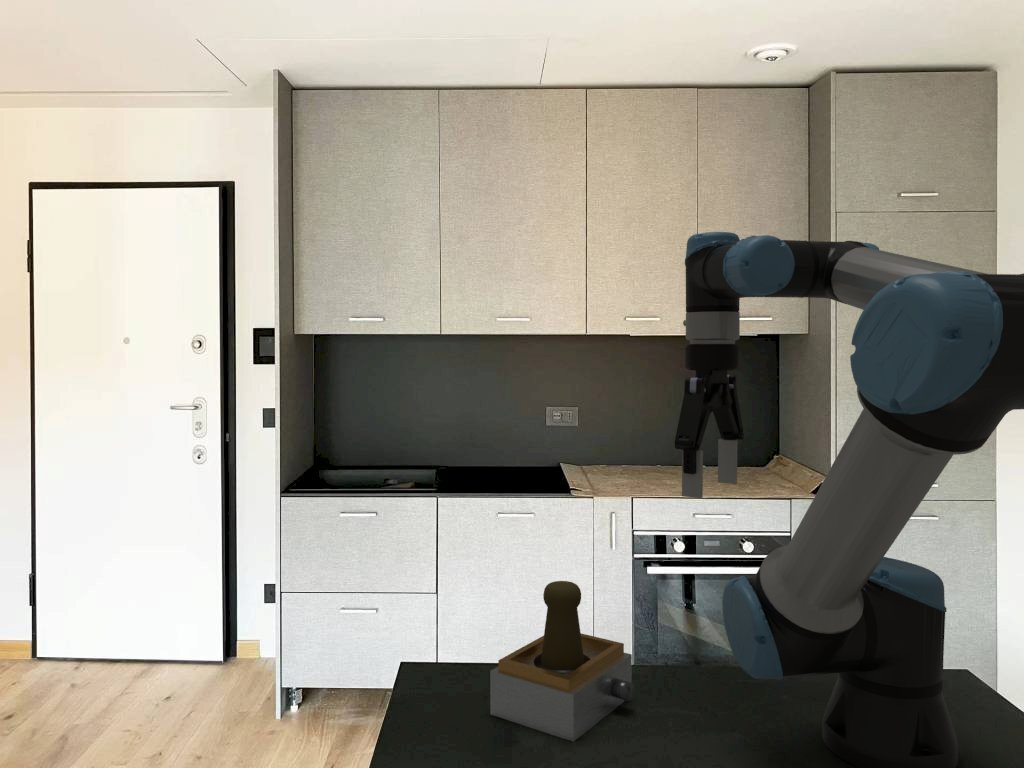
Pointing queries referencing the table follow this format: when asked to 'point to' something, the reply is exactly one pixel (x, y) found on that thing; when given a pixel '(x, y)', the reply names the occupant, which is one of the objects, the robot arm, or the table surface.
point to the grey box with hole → (562, 688)
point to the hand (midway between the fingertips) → (710, 489)
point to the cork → (562, 627)
